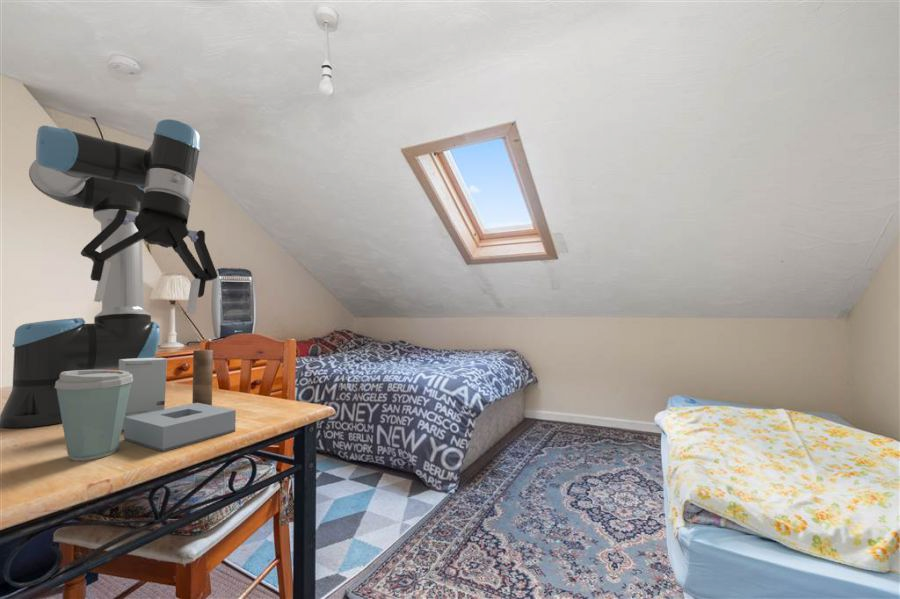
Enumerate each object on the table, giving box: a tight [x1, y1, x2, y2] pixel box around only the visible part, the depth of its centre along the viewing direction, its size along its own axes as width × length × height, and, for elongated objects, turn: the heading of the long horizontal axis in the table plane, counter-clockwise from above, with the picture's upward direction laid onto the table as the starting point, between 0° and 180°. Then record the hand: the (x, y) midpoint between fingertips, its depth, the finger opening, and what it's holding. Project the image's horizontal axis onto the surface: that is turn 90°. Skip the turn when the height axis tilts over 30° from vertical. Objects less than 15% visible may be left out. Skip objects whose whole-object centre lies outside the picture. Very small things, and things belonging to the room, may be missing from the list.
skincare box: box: [118, 357, 168, 432], centre depth 90 cm, size 8×6×15 cm
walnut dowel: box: [191, 349, 214, 406], centre depth 96 cm, size 4×4×16 cm
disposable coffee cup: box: [55, 369, 133, 462], centre depth 71 cm, size 11×11×15 cm
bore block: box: [123, 403, 236, 453], centre depth 82 cm, size 14×14×4 cm
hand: (147, 307), depth 72 cm, fingers open, 13 cm apart
